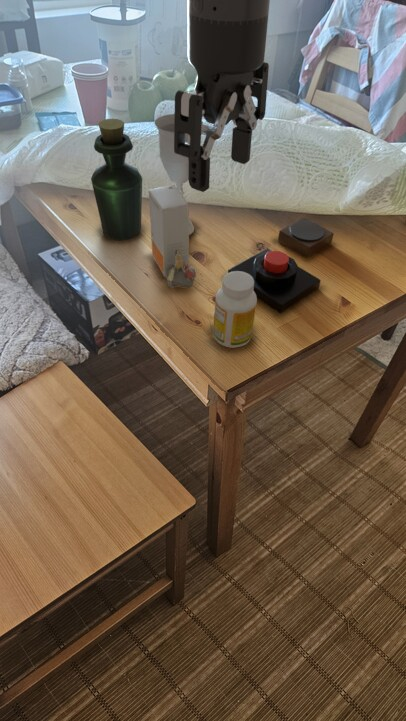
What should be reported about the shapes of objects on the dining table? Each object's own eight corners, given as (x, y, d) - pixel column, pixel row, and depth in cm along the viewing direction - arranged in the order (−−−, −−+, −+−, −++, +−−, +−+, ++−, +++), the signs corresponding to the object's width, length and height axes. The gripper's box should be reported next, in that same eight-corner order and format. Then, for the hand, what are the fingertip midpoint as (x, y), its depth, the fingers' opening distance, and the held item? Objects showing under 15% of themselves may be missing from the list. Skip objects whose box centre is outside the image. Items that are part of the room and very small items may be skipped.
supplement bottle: (207, 343, 69) (210, 288, 62) (219, 318, 73) (223, 263, 66) (245, 353, 68) (253, 298, 61) (256, 327, 72) (264, 272, 65)
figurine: (183, 271, 80) (183, 238, 76) (203, 283, 78) (204, 250, 74) (158, 285, 78) (157, 252, 73) (178, 298, 76) (178, 265, 71)
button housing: (318, 288, 78) (323, 270, 76) (280, 313, 74) (283, 295, 71) (266, 256, 84) (268, 238, 81) (227, 278, 79) (228, 259, 77)
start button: (292, 268, 76) (294, 258, 75) (276, 277, 75) (277, 267, 73) (274, 257, 78) (276, 247, 77) (258, 266, 77) (259, 256, 75)
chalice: (154, 237, 87) (149, 129, 74) (163, 216, 91) (159, 112, 78) (196, 242, 86) (199, 134, 73) (203, 220, 91) (206, 116, 77)
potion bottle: (123, 212, 92) (113, 108, 79) (155, 229, 88) (150, 123, 75) (88, 230, 87) (71, 123, 74) (120, 249, 84) (109, 140, 71)
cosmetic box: (151, 257, 83) (147, 188, 74) (175, 251, 84) (174, 183, 75) (164, 278, 79) (161, 209, 70) (189, 272, 80) (190, 203, 71)
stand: (331, 244, 87) (334, 231, 85) (307, 258, 84) (309, 245, 82) (302, 228, 90) (304, 215, 88) (277, 241, 87) (279, 228, 85)
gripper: (219, 30, 41) (212, 210, 53) (300, -1, 50) (279, 161, 61) (147, 15, 44) (156, 189, 56) (235, -12, 52) (227, 145, 64)
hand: (220, 174), depth 59 cm, fingers open, 8 cm apart
